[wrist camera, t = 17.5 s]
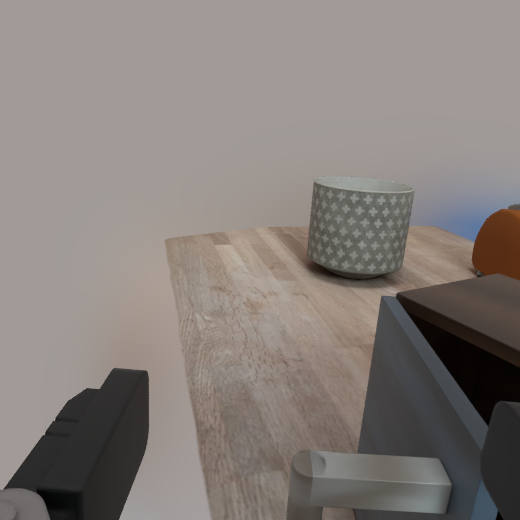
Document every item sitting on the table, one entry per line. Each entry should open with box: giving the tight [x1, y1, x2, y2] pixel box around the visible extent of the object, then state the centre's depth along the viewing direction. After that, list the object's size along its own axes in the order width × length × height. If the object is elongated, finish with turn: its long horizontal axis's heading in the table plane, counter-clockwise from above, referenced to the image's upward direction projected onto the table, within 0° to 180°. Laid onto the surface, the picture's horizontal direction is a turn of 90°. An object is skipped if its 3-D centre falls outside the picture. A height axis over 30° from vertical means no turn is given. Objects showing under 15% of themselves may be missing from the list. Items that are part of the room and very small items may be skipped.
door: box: [286, 296, 498, 520], centre depth 27 cm, size 8×16×18 cm, turn 179°
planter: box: [307, 177, 415, 279], centre depth 90 cm, size 19×19×18 cm
